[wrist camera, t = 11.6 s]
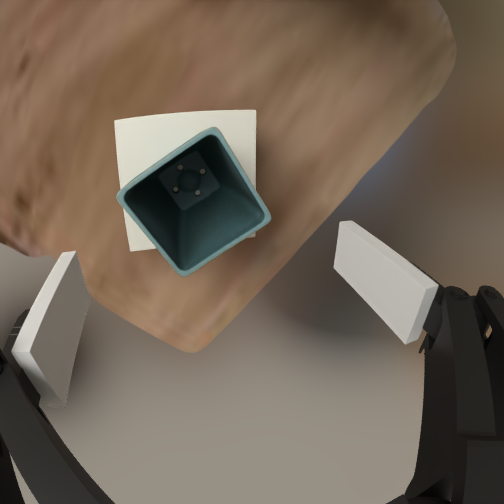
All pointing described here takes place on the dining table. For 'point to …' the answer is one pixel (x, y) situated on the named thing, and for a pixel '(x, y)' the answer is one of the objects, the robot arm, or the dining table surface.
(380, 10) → the dining table surface
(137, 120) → the footstool
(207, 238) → the flower pot
